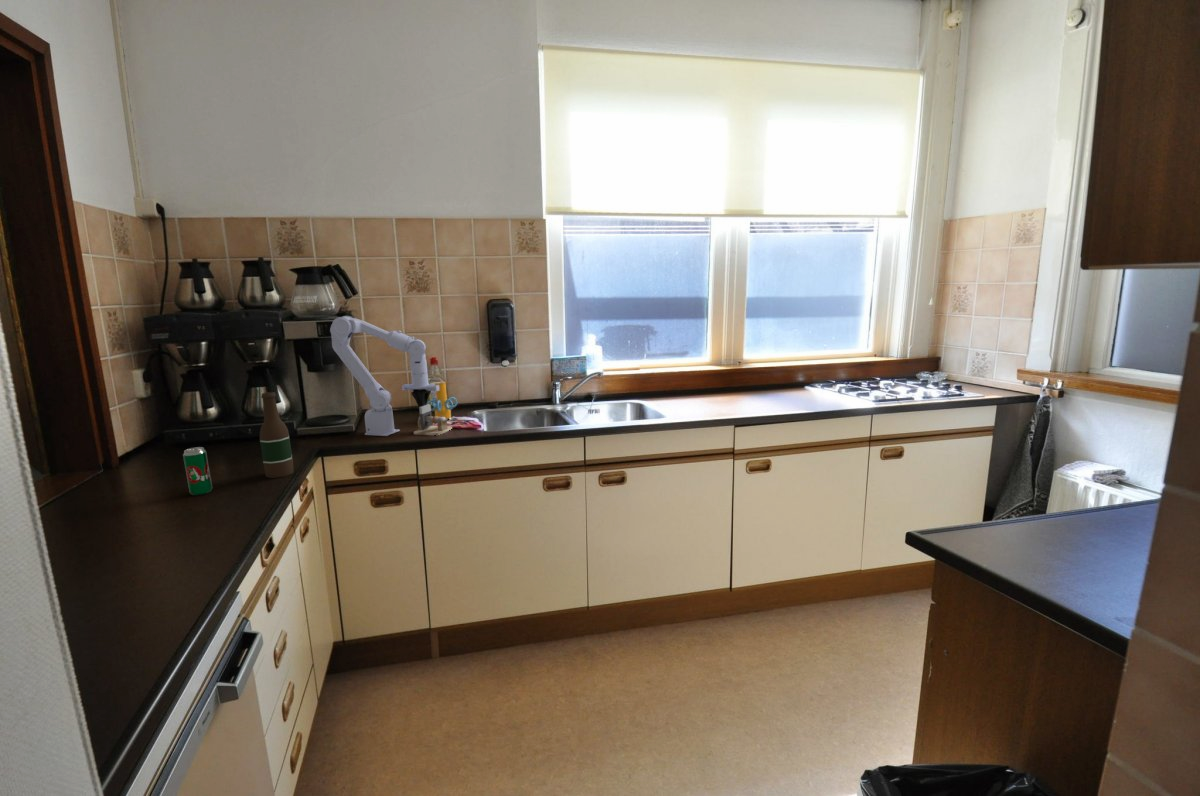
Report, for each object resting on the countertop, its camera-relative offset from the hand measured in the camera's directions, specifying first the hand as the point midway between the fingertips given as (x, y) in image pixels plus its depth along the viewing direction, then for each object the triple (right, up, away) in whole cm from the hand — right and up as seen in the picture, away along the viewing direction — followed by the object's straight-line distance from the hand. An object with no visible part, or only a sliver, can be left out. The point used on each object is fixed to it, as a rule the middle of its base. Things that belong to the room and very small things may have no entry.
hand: (422, 409), depth 214 cm
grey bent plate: (+2, -6, -1) cm, 6 cm away
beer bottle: (-28, -18, -45) cm, 56 cm away
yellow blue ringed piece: (+3, -4, +17) cm, 18 cm away
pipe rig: (+4, -8, -2) cm, 9 cm away
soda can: (-41, -21, -58) cm, 74 cm away
